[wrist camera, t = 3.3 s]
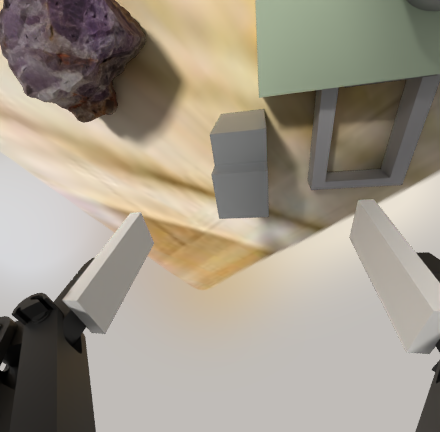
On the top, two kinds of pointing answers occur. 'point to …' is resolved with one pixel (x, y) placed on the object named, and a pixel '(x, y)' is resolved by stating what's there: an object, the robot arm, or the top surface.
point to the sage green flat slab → (352, 69)
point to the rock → (69, 51)
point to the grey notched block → (240, 164)
